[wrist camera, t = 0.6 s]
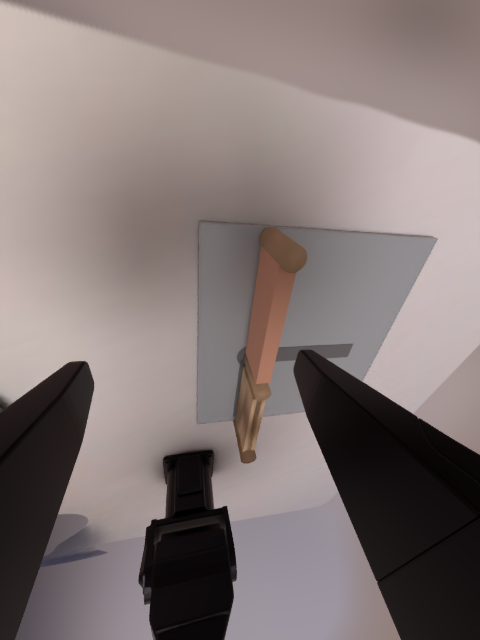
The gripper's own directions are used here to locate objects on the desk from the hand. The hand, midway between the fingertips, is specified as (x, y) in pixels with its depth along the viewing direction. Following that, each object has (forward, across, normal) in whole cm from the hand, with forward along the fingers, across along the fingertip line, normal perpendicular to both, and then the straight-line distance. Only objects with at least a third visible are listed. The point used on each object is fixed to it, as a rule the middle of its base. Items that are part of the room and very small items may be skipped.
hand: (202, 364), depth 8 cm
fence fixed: (+11, -6, +16) cm, 20 cm away
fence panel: (+11, -5, +4) cm, 13 cm away
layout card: (+12, -10, +9) cm, 18 cm away
